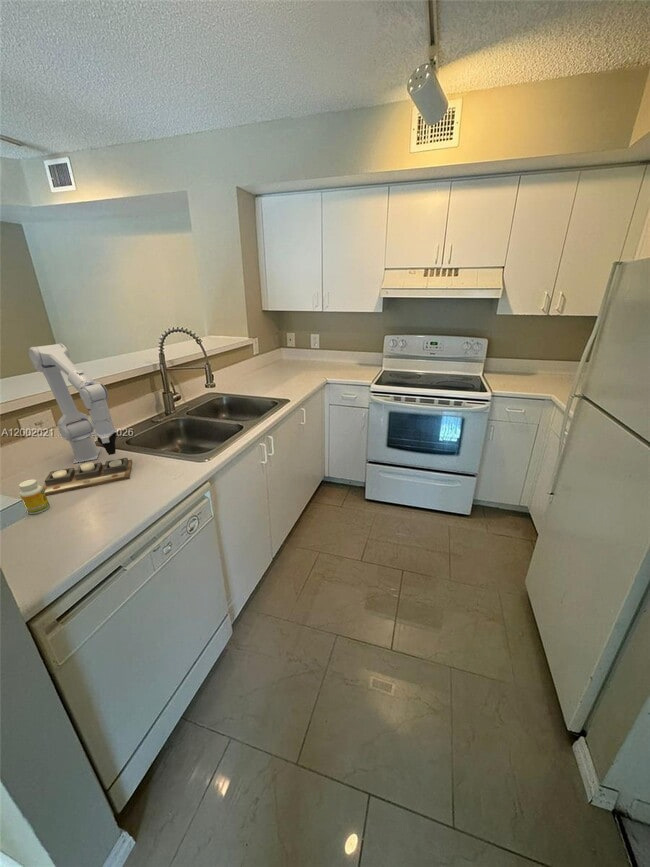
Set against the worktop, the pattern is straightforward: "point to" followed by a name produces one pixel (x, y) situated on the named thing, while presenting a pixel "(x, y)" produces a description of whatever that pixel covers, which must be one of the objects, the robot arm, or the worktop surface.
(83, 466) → the button middle
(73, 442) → the robot arm
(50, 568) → the worktop surface
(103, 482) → the board
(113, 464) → the button right
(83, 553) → the worktop surface
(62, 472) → the button left
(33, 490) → the supplement bottle
